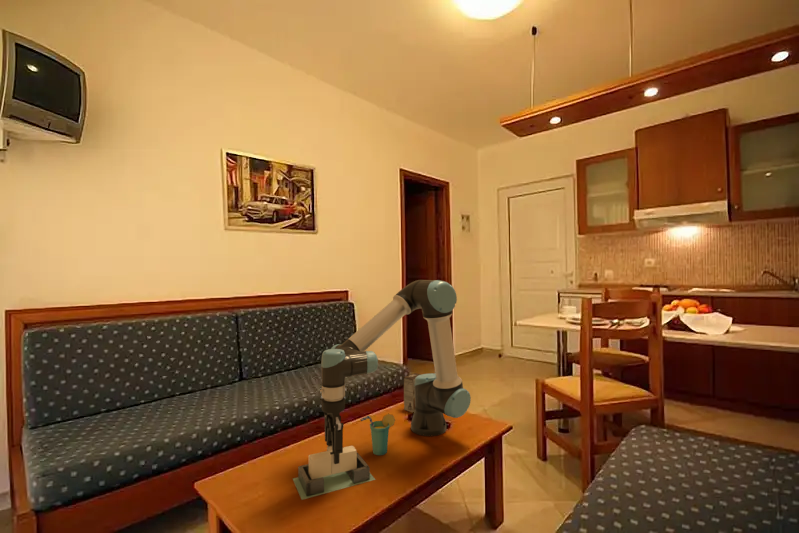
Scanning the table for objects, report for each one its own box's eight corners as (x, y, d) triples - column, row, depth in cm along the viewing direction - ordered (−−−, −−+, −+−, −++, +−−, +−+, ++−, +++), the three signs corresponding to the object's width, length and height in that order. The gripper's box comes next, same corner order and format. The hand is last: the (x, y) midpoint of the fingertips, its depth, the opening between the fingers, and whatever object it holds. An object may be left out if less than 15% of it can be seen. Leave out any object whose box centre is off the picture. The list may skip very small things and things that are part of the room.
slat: (352, 463, 134) (352, 445, 134) (356, 468, 131) (356, 450, 131) (308, 473, 128) (308, 455, 127) (311, 479, 124) (311, 460, 124)
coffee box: (415, 404, 198) (415, 372, 197) (425, 407, 193) (425, 375, 193) (403, 409, 191) (403, 376, 191) (413, 413, 186) (413, 379, 186)
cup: (366, 463, 140) (365, 421, 140) (356, 454, 147) (355, 414, 147) (399, 452, 148) (398, 412, 148) (388, 444, 154) (388, 406, 154)
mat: (361, 462, 141) (361, 461, 141) (375, 480, 129) (375, 479, 129) (292, 479, 130) (292, 478, 130) (301, 501, 118) (301, 499, 118)
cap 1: (306, 496, 120) (306, 483, 120) (298, 478, 130) (298, 466, 130) (324, 492, 122) (324, 479, 122) (314, 474, 132) (314, 462, 132)
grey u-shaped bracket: (357, 463, 139) (357, 452, 139) (369, 479, 129) (369, 467, 129) (342, 467, 137) (342, 455, 137) (354, 483, 126) (354, 471, 126)
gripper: (315, 391, 135) (315, 460, 135) (329, 408, 120) (330, 484, 120) (336, 388, 138) (336, 455, 139) (353, 404, 123) (353, 478, 123)
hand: (333, 468), depth 129 cm, fingers closed on slat, 4 cm apart
